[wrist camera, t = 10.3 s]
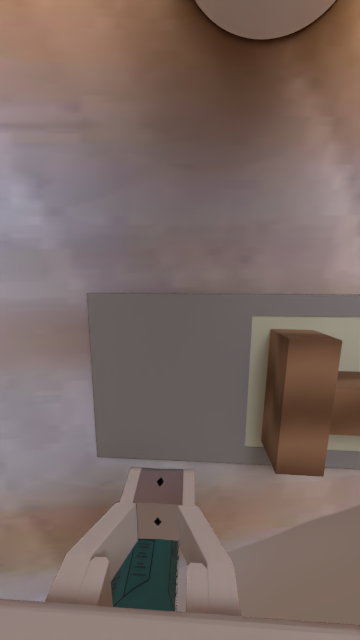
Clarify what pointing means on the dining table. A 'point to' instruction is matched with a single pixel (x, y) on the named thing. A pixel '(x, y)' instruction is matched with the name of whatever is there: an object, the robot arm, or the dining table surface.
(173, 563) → the beverage bottle
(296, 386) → the t block
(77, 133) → the dining table surface
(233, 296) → the board
